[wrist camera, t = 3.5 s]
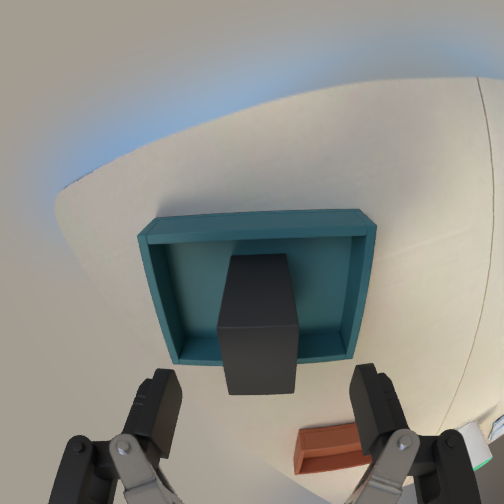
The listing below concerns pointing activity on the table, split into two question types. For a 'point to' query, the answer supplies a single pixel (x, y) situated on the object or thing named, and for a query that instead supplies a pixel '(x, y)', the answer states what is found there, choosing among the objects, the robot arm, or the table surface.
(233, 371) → the block
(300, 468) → the terracotta bin
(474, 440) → the mug
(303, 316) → the teal bin
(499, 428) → the light blue folded towel
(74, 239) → the table surface
